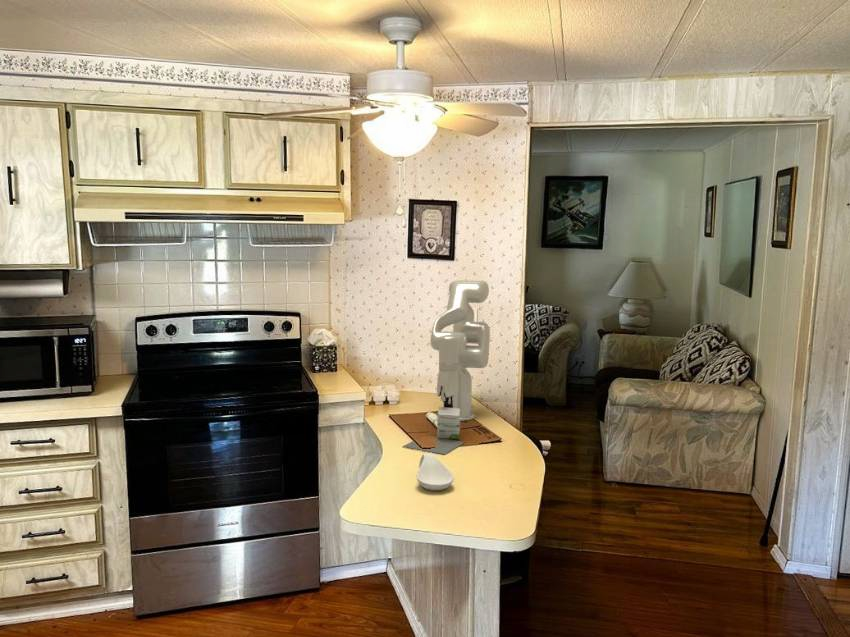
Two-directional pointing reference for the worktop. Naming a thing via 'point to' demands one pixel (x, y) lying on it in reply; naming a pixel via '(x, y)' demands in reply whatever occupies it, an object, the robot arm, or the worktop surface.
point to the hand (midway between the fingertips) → (448, 413)
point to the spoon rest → (433, 473)
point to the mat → (438, 446)
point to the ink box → (448, 423)
